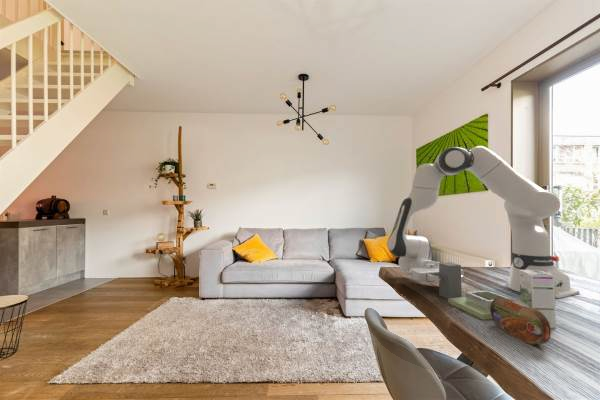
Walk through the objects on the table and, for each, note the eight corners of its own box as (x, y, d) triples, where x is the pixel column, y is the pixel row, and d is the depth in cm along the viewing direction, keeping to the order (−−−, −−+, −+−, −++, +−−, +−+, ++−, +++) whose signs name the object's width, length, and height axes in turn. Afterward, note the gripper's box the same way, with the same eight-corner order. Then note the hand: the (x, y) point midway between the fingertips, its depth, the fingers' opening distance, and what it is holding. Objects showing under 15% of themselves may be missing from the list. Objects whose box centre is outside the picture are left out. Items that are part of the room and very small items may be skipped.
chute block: (451, 294, 100) (450, 262, 101) (461, 298, 96) (460, 265, 96) (439, 295, 100) (438, 262, 100) (449, 299, 95) (448, 265, 95)
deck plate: (488, 299, 95) (487, 286, 95) (528, 315, 81) (527, 300, 81) (448, 302, 92) (448, 289, 92) (483, 319, 78) (482, 304, 78)
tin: (489, 323, 76) (488, 293, 76) (499, 322, 76) (499, 293, 76) (541, 352, 61) (540, 314, 61) (554, 351, 61) (553, 314, 61)
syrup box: (557, 328, 72) (555, 274, 72) (532, 326, 73) (530, 273, 74) (542, 319, 78) (541, 269, 78) (519, 318, 79) (518, 268, 79)
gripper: (403, 264, 109) (425, 272, 96) (447, 261, 113) (474, 269, 99) (403, 279, 109) (425, 289, 95) (447, 276, 113) (474, 286, 99)
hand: (450, 279), depth 97 cm, fingers open, 8 cm apart
